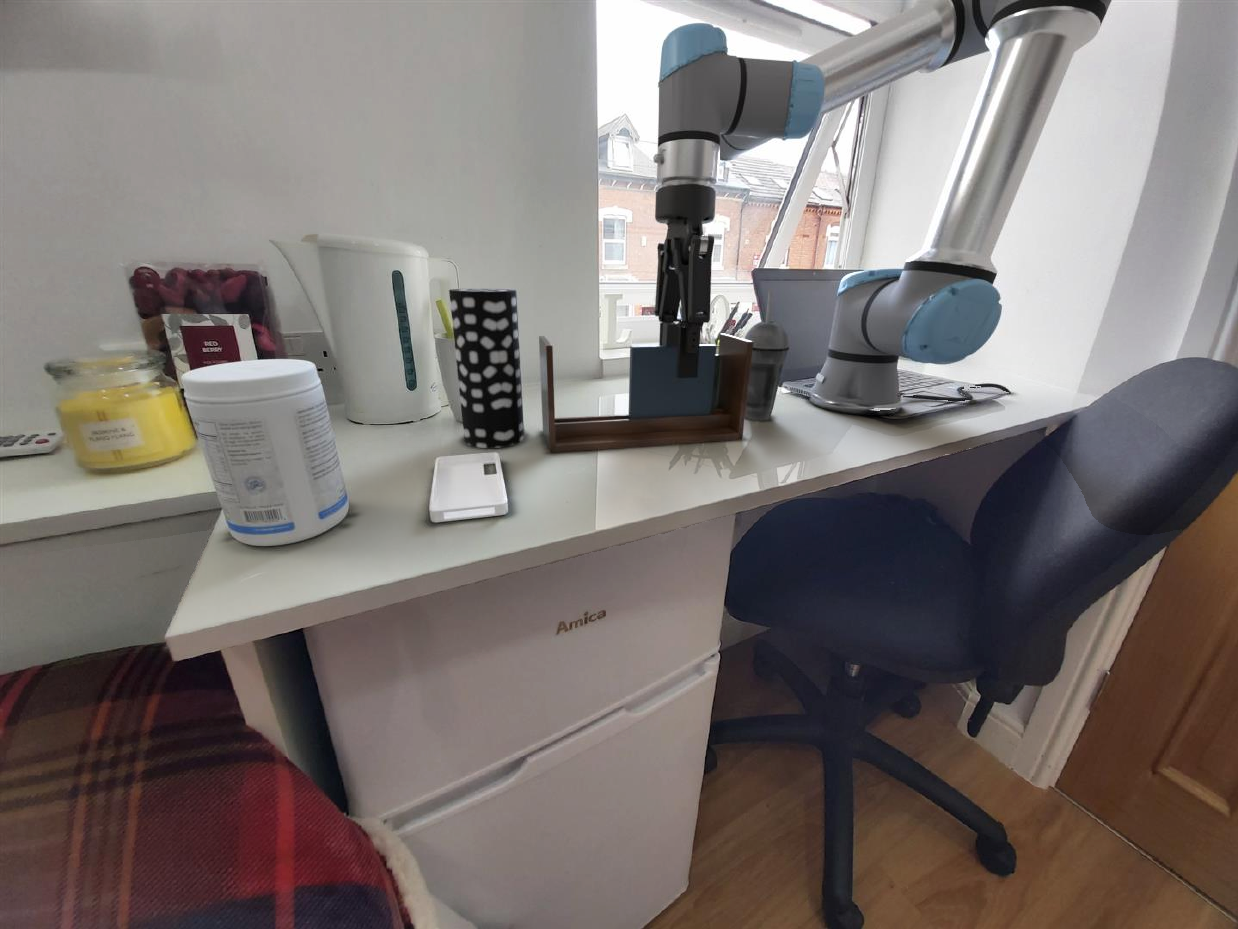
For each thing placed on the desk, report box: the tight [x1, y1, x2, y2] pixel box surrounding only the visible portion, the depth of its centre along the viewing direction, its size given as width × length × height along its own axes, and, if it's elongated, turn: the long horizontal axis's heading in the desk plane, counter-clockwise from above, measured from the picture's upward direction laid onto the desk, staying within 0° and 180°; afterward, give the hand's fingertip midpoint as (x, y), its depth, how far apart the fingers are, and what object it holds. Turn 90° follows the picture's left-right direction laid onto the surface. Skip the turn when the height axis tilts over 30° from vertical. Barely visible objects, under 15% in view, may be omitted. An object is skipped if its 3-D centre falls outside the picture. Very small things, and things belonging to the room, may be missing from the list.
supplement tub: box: [180, 358, 350, 547], centre depth 44 cm, size 10×10×15 cm
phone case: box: [428, 452, 509, 523], centre depth 54 cm, size 7×1×15 cm
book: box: [628, 322, 717, 419], centre depth 71 cm, size 12×2×15 cm, turn 104°
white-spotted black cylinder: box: [448, 288, 525, 449], centre depth 67 cm, size 8×8×20 cm
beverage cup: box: [744, 290, 790, 422], centre depth 80 cm, size 7×7×20 cm
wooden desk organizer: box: [538, 333, 753, 454], centre depth 70 cm, size 28×9×14 cm, turn 104°
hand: (676, 372), depth 69 cm, fingers open, 7 cm apart
